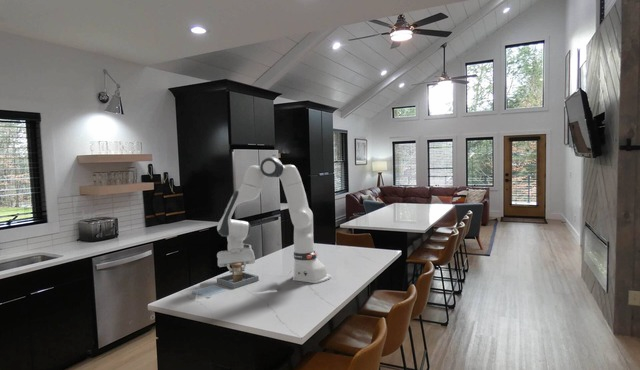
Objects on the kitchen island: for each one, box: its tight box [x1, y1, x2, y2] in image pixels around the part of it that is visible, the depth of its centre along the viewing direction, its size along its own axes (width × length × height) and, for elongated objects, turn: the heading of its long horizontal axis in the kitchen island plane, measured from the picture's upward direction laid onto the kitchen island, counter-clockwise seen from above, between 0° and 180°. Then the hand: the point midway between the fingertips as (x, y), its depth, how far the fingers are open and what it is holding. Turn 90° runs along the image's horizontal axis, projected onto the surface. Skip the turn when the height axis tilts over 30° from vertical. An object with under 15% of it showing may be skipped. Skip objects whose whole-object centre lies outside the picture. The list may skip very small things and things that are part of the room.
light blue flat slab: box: [192, 284, 228, 299], centre depth 197 cm, size 14×12×1 cm
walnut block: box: [231, 262, 243, 283], centre depth 209 cm, size 5×5×10 cm
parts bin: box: [216, 271, 259, 289], centre depth 209 cm, size 16×16×4 cm
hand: (237, 271), depth 208 cm, fingers closed on walnut block, 5 cm apart
